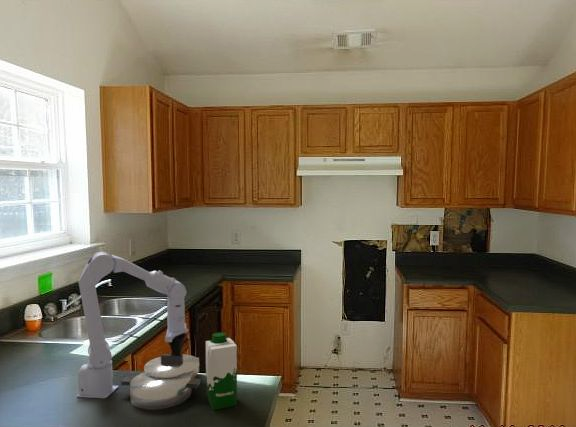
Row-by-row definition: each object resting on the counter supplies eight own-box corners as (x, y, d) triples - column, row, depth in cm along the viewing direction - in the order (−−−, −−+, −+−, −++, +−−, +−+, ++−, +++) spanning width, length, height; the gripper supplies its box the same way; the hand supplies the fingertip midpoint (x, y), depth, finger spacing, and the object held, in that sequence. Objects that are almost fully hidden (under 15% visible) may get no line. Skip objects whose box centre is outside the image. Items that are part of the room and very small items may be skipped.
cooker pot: (109, 407, 124) (109, 390, 124) (150, 369, 152) (149, 356, 152) (189, 411, 122) (188, 394, 122) (215, 372, 149) (215, 358, 149)
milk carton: (231, 393, 133) (231, 330, 132) (240, 406, 124) (239, 338, 124) (203, 399, 129) (202, 334, 129) (210, 412, 121) (209, 343, 120)
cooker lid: (134, 377, 133) (134, 364, 133) (157, 356, 151) (157, 345, 150) (188, 379, 131) (188, 366, 131) (206, 357, 149) (205, 346, 148)
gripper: (179, 323, 137) (180, 364, 137) (194, 311, 151) (195, 349, 152) (158, 322, 138) (159, 364, 138) (175, 310, 152) (175, 348, 153)
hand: (176, 356), depth 145 cm, fingers closed
